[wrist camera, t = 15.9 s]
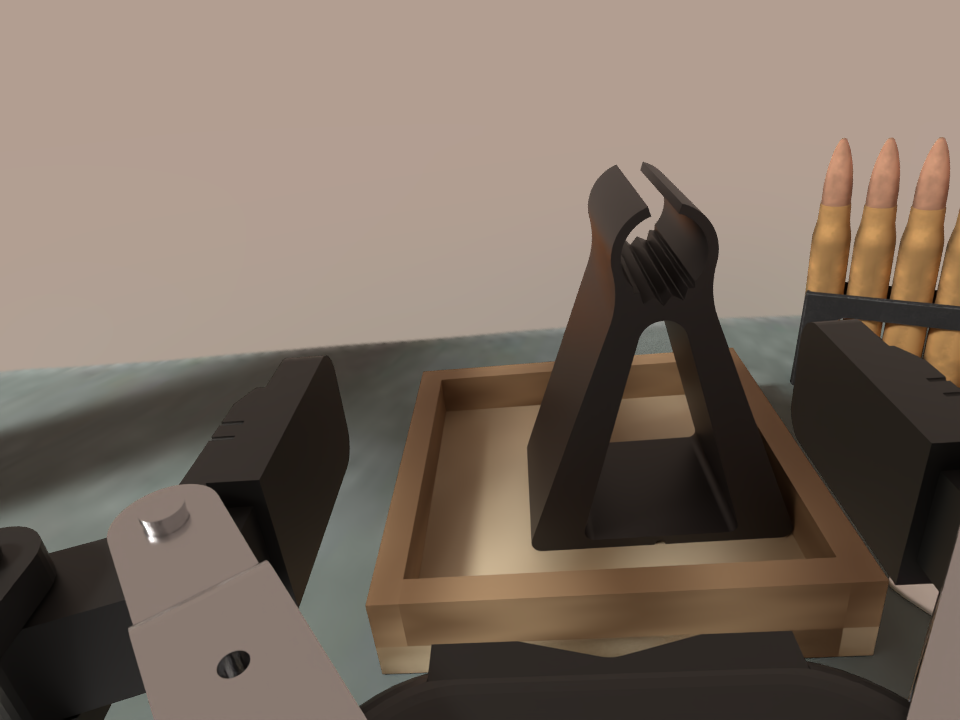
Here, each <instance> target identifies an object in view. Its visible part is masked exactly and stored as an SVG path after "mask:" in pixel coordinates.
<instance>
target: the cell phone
mask: <svg viewBox="0 0 960 720" xmlns="http://www.w3.org/2000/svg"><path fill="white" fill-rule="evenodd" d="M889 585H890V587H891V588H892V589H893V590H894V591H896V592H897V593H898V594H900V595H901V596H902V597H904V598H905V599H907V600H908V601H910V602H911V603H913V604H914V605H916V606H917V607H919V608H920V609H922V610H923V611H925V612H926V613H928V614H929V615H931V616H932V613H933V610H934V606H935V603H936V599H937V596H938V593H939V591H938V590H937V589H936V587H935V586H934V585H933V584H915V585H895V584H894V582H893V581H892V579H891V578H890V577H889Z"/></svg>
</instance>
